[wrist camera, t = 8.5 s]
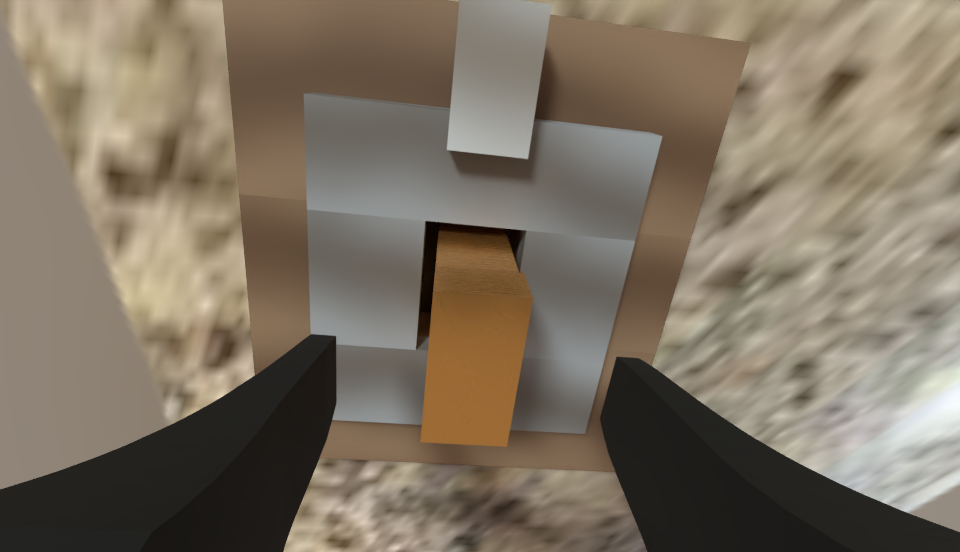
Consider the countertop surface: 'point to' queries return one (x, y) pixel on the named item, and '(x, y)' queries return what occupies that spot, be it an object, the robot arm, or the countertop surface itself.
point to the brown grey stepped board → (468, 196)
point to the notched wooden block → (474, 337)
